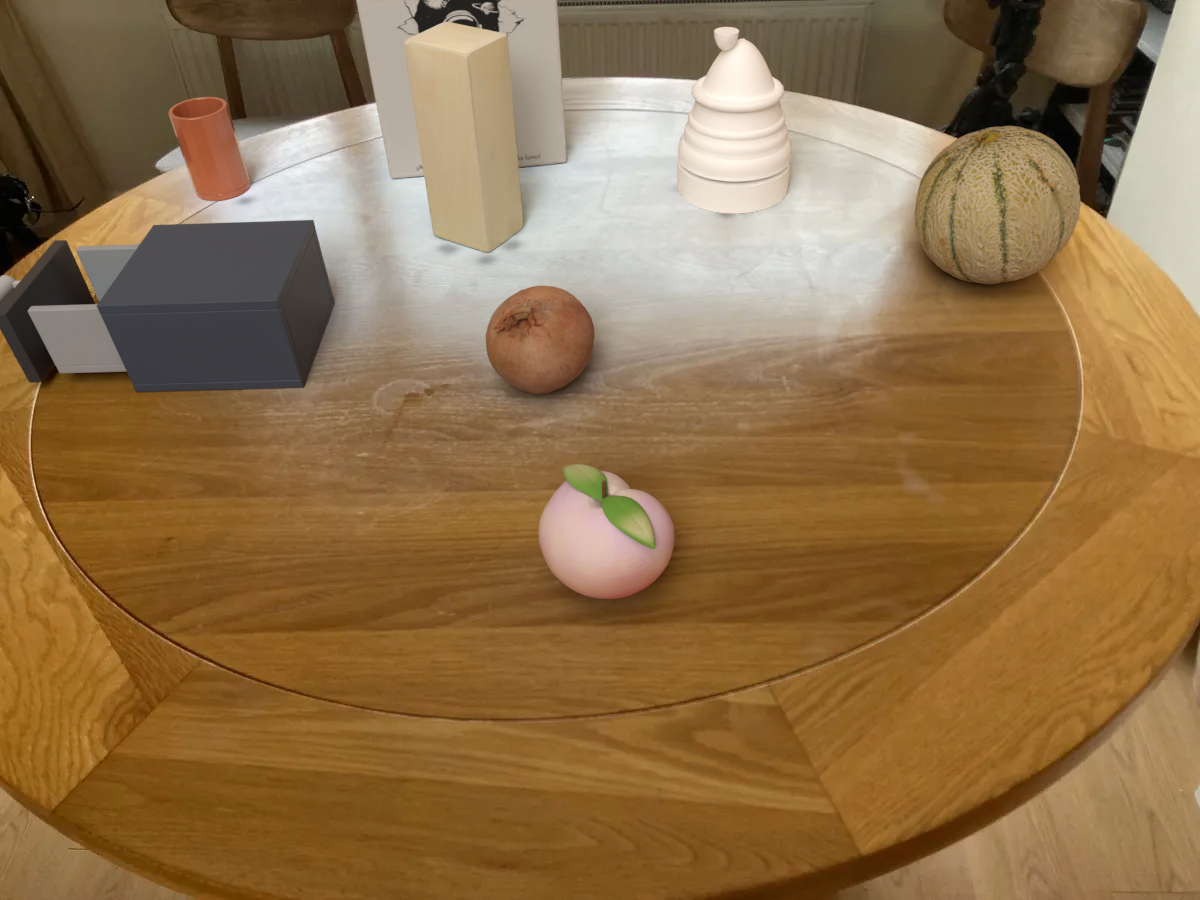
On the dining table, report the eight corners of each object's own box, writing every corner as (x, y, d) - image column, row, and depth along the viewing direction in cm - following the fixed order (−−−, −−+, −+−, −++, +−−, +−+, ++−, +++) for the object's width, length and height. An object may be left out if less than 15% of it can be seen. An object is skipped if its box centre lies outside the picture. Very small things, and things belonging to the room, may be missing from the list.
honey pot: (719, 224, 106) (727, 58, 94) (656, 180, 114) (656, 22, 102) (810, 193, 110) (830, 31, 98) (743, 153, 119) (754, -1, 107)
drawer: (-21, 384, 87) (-62, 316, 82) (39, 307, 96) (6, 241, 91) (182, 378, 86) (154, 309, 81) (224, 301, 96) (200, 235, 91)
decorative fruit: (517, 586, 68) (503, 485, 61) (594, 522, 73) (589, 421, 66) (617, 657, 63) (613, 556, 57) (693, 584, 68) (698, 482, 61)
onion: (532, 431, 85) (491, 378, 77) (493, 354, 90) (450, 296, 81) (625, 378, 85) (594, 319, 76) (581, 303, 90) (548, 240, 81)
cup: (185, 193, 116) (156, 112, 109) (227, 172, 120) (202, 92, 113) (219, 205, 113) (192, 123, 107) (261, 184, 117) (238, 103, 110)
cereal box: (561, 137, 124) (547, -77, 107) (567, 163, 118) (553, -59, 101) (392, 153, 122) (351, -63, 105) (390, 180, 117) (347, -44, 100)
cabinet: (135, 392, 87) (96, 305, 80) (185, 307, 97) (153, 224, 91) (303, 387, 86) (276, 300, 80) (335, 303, 97) (313, 219, 90)
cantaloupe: (1088, 293, 93) (1141, 146, 83) (960, 327, 90) (999, 177, 80) (992, 224, 104) (1029, 86, 94) (874, 252, 100) (899, 111, 90)
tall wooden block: (530, 224, 107) (511, 30, 93) (490, 254, 103) (464, 54, 89) (473, 208, 110) (448, 18, 96) (432, 236, 106) (399, 41, 92)
